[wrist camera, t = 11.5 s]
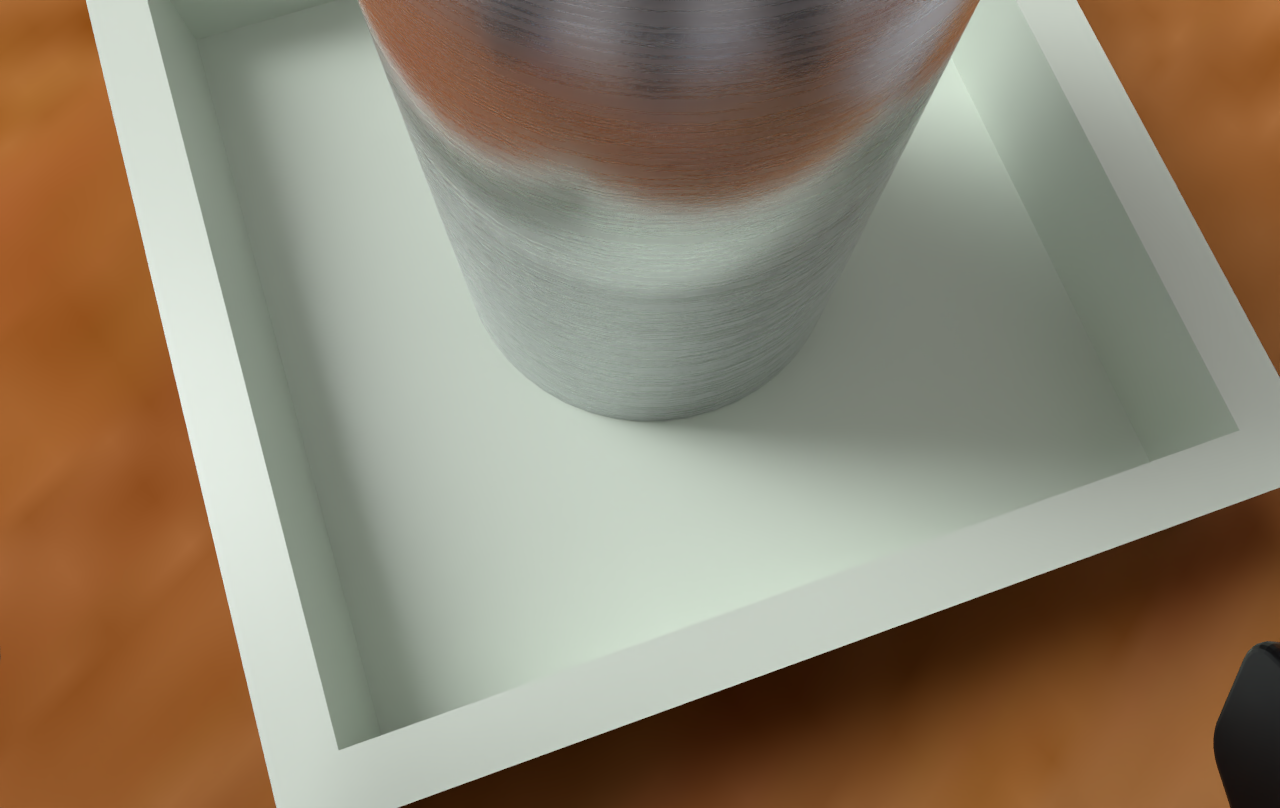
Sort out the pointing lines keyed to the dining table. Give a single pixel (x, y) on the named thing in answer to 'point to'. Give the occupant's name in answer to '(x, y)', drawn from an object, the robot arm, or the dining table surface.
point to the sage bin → (649, 450)
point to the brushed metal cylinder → (658, 174)
